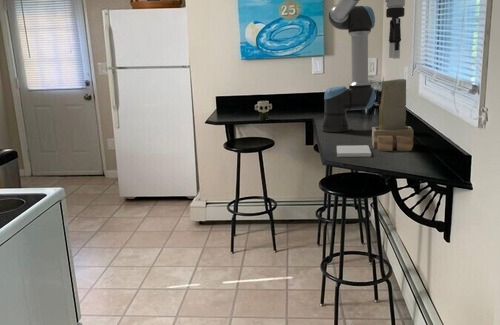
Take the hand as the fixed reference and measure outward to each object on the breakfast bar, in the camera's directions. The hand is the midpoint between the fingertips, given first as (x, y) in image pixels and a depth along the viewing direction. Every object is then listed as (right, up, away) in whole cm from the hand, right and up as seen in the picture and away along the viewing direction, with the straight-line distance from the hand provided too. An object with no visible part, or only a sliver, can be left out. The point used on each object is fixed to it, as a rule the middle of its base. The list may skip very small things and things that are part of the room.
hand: (394, 58), depth 209 cm
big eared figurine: (-54, -20, +98) cm, 114 cm away
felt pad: (-18, -42, -1) cm, 45 cm away
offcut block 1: (-4, -40, +2) cm, 40 cm away
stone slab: (+2, -38, +9) cm, 40 cm away
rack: (+2, -38, +9) cm, 39 cm away
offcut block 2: (+4, -40, +1) cm, 40 cm away
